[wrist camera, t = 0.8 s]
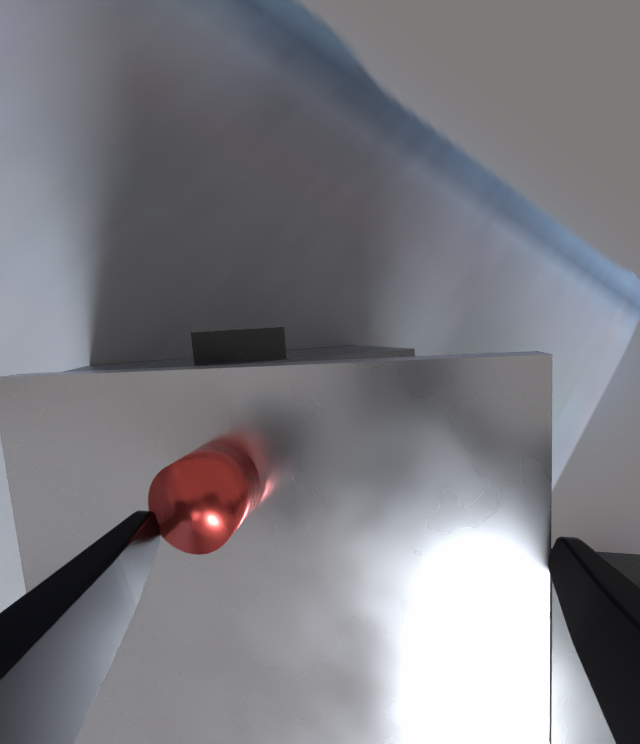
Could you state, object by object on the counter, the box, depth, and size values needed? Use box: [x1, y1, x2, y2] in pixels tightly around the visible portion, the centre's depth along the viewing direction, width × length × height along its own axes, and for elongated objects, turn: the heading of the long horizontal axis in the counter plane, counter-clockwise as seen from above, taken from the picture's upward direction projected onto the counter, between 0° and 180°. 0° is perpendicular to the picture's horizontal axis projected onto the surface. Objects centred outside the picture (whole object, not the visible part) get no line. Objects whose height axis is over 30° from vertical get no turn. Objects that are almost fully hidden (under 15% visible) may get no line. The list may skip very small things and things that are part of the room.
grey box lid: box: [0, 351, 640, 744], centre depth 11 cm, size 17×20×3 cm
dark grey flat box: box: [64, 327, 415, 372], centre depth 20 cm, size 19×16×8 cm
